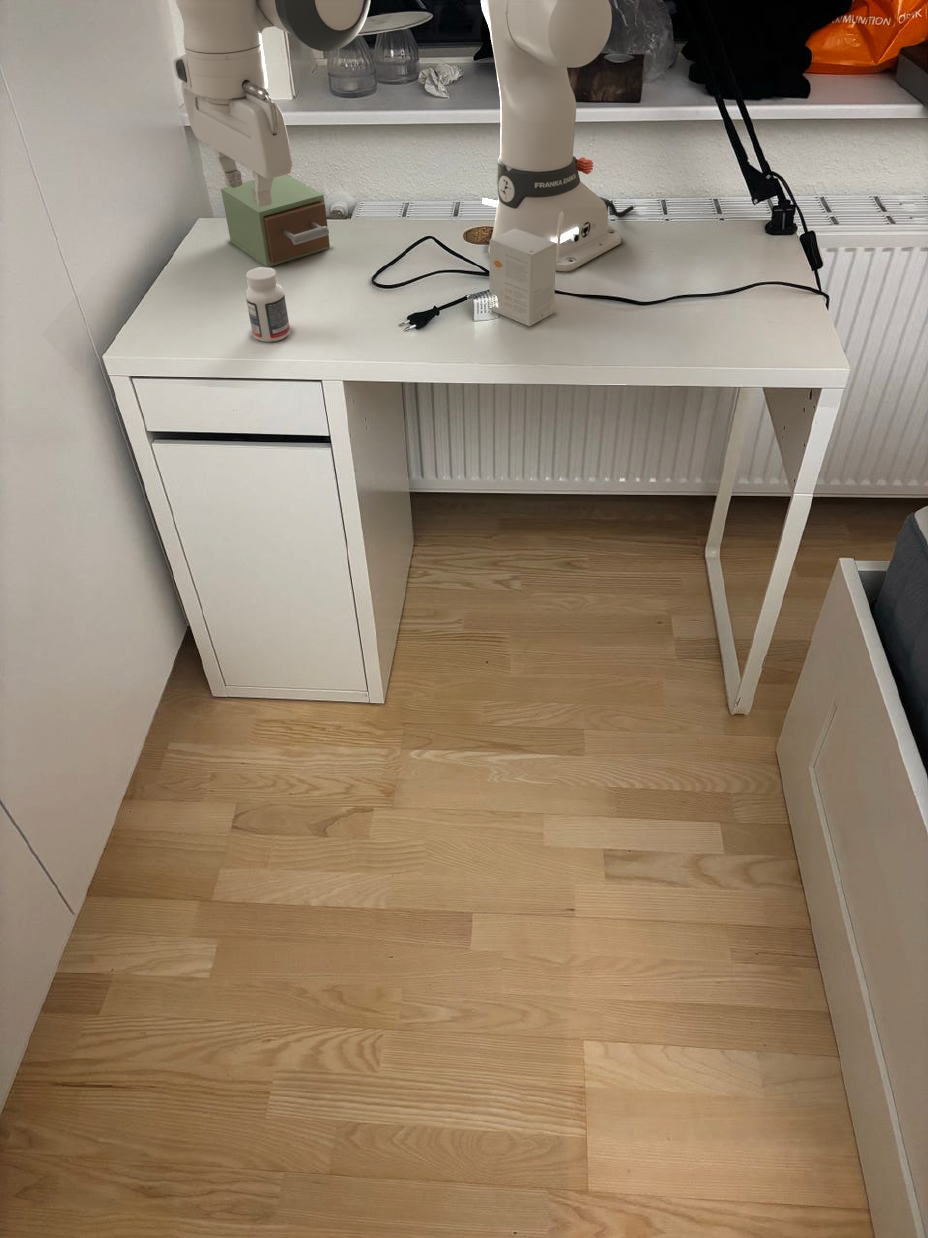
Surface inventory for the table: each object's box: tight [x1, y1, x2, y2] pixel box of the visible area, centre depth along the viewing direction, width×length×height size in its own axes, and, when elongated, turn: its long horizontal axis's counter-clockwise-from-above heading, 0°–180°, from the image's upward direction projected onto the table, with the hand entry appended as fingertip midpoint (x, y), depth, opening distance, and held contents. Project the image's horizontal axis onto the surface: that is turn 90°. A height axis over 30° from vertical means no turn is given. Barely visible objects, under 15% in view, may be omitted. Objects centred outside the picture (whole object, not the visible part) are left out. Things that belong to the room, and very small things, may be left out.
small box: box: [488, 229, 557, 327], centre depth 131 cm, size 8×6×10 cm
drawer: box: [263, 202, 331, 263], centre depth 147 cm, size 16×10×7 cm, turn 38°
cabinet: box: [220, 174, 330, 268], centre depth 149 cm, size 13×12×9 cm
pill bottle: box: [245, 266, 291, 343], centre depth 127 cm, size 5×5×9 cm
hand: (248, 194), depth 117 cm, fingers open, 6 cm apart
